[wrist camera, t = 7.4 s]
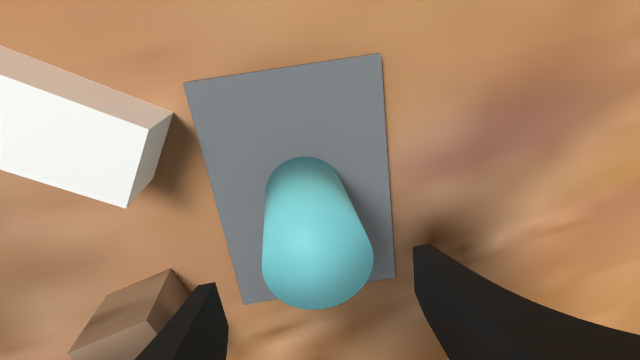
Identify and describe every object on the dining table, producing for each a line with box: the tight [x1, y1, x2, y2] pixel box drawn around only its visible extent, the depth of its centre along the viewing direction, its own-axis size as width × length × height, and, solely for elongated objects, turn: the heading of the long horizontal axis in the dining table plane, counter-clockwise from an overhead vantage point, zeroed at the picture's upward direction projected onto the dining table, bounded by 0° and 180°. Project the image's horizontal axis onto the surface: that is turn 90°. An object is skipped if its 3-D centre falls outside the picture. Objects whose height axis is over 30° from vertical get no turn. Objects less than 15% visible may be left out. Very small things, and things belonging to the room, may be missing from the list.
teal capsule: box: [262, 156, 373, 310], centre depth 17 cm, size 4×4×7 cm
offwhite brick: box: [0, 46, 174, 209], centre depth 16 cm, size 8×4×4 cm, turn 66°
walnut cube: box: [68, 268, 190, 360], centre depth 21 cm, size 4×4×4 cm
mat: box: [183, 53, 395, 305], centre depth 21 cm, size 14×10×1 cm
